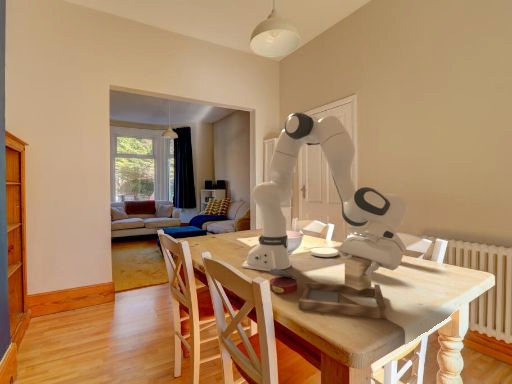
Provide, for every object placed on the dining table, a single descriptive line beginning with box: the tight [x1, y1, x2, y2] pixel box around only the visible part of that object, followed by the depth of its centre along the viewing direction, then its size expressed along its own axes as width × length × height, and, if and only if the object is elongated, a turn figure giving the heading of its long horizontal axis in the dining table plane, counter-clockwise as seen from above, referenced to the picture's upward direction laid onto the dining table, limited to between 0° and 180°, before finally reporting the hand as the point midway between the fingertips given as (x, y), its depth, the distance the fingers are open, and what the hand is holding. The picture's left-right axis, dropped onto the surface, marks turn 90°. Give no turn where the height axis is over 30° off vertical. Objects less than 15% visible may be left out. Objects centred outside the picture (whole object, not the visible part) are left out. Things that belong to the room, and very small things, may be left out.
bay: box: [298, 281, 387, 320], centre depth 88 cm, size 24×17×4 cm
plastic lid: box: [310, 246, 339, 258], centre depth 146 cm, size 14×14×2 cm
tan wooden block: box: [344, 257, 372, 290], centre depth 86 cm, size 6×6×8 cm
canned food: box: [268, 269, 298, 295], centre depth 100 cm, size 11×10×10 cm
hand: (356, 271), depth 85 cm, fingers closed on tan wooden block, 5 cm apart
